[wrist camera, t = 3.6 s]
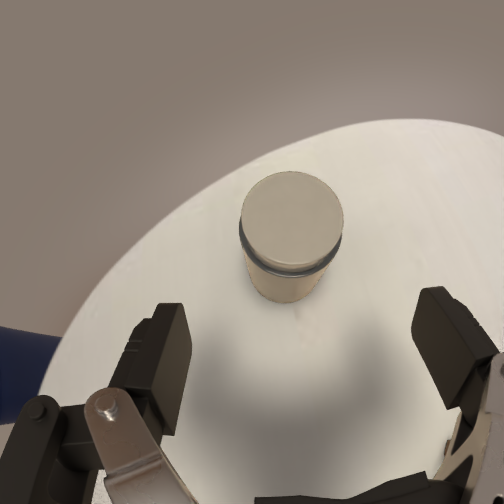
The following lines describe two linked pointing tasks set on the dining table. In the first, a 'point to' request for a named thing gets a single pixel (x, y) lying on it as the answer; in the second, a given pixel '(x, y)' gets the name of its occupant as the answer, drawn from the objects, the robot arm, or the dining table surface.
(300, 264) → the salt shaker
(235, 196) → the dining table surface
